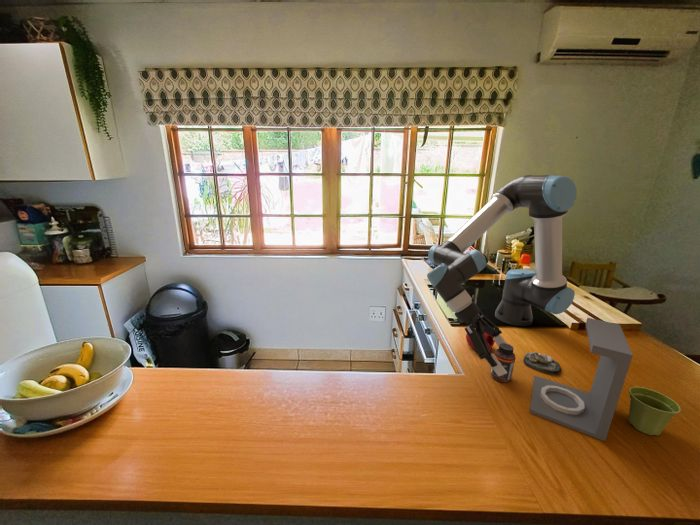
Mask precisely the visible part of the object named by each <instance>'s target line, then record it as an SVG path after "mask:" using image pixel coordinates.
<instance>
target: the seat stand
mask: <svg viewBox="0 0 700 525" xmlns="http://www.w3.org/2000/svg"><path fill="white" fill-rule="evenodd" d="M585 327H586V328H585V329H586V334H587V339H588V345H589V349H590V353H591V354H595V355H597V356H600V357H599V360H598V363H597V367H596V370H595V373H594V377H593V381H592V384H591V387H590V391H589V392H587V391H584V390H581V389H578V388H574V387H572V386H569V385H566V384H563V383H559V382H556V381H554V380H550V379H547V378H544V377H542V376H538V375H534V377H533V385H532V392H531V393H532V394H531V400H530V408H529V413H530V414H533V415H534V416H537V417H540V418H543V419H545V420H549V421H551V422H553V423H556V424H557V425H558V424H559V425H560V426H563V427H565V428H569V429H571V430H573V431H574V430H575V431H577V432H579V433H582V434H584V435H587V436H590V437H592V438H595V439H598V440H600V441H603V442H606V440H607V437H608V434H609V430H610V427H611V425H612V421H613V418H614V415H615V412H616V408H617V405H618V403H619V399H620V397H621V394H622V390H623V387H624V384H625V381H626V378H627V375H628V372H629V369H630V365H631V362H632V359H633V352H632V350H631V347H630V345H629V343H628V341H627V338H626V336H625V333H624V332H623V329H622V327H621V324H619V323H614V322H610V321H606V320H602V319H596V318H592V317H587V318H586V322H585Z"/></svg>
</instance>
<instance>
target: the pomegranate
mask: <svg viewBox="0 0 700 525" xmlns="http://www.w3.org/2000/svg"><path fill="white" fill-rule="evenodd" d="M484 337H485V340H486V342H487V345H488V347H489V350H490V351H491V350H492V348H493V347H494V345H495V341H494V340H493V338H494V337H492V336H491V335H489V334H487V333H486V332H484ZM465 339H466V342H467V344H468V346H470V348H471V349H473V350H475V347H474V345H473V343H472V341H471V339H470V337H469V335H468V334H467V333H466V335H465Z"/></svg>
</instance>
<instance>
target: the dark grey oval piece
mask: <svg viewBox="0 0 700 525" xmlns="http://www.w3.org/2000/svg"><path fill="white" fill-rule="evenodd" d="M523 364H524V365H525V367H528V368H530V369H533V370H536V371H539V372H541V373H545V374H548V375H559V374H560V373H561V372H562V368H561V366H560V363H559V362H558V361H557V360H554V359H553V357H552V356H550V355H548V354H545V353H544V354H543V353H541V352H537V351H534V352H533V351H532V352H526V353H525V354H524V357H523Z"/></svg>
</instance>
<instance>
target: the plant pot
mask: <svg viewBox="0 0 700 525" xmlns="http://www.w3.org/2000/svg"><path fill="white" fill-rule="evenodd" d="M628 394H629V398H630V401H629V402H630V404H629V412H628V423H629V424H631V425H632V426H633V427H634V429H636V430H637V431H638V432H641V433H643V434H646V435H648V436H658V437H659V436H660V435H661V434H662V432H663V431H664V429H665V428H666V426H667V425H668V424H669V423H670V421H671V419H672V418H673V417H675V416H676V415H677V414H679V413H680V412H681V411H682V409H681V406H680V405H679V404H678V402H676V401H675V400H674V399H672V398H671V397H669V396H667V395H666V394H663V393H662V392H659V391H656V390H654V389H650V388H648V387H643V386H632V387H631V386H630V387H629V389H628Z"/></svg>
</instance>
